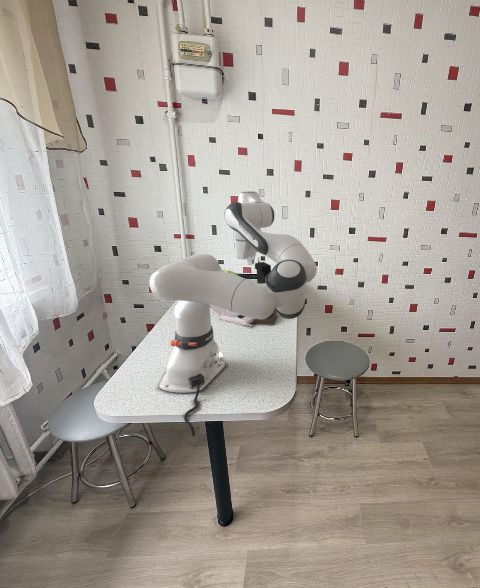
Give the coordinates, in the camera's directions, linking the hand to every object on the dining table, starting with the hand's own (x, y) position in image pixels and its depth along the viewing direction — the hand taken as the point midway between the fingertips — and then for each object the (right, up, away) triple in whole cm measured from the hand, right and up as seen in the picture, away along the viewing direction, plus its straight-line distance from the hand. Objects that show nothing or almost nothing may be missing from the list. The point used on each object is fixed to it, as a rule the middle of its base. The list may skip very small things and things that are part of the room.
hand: (251, 264), depth 141 cm
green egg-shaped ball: (-23, -14, +36) cm, 45 cm away
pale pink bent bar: (-11, -25, +11) cm, 29 cm away
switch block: (+4, -25, +12) cm, 28 cm away
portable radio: (+1, -20, +23) cm, 30 cm away
